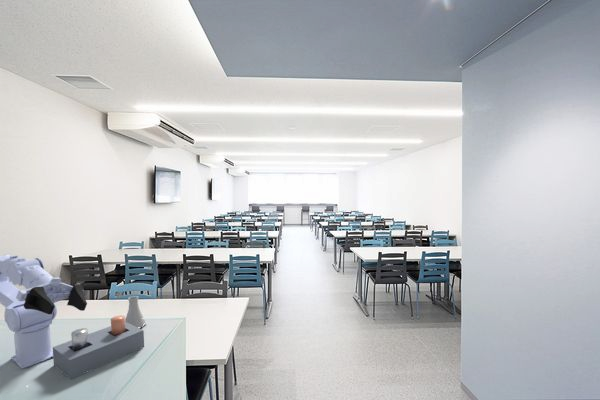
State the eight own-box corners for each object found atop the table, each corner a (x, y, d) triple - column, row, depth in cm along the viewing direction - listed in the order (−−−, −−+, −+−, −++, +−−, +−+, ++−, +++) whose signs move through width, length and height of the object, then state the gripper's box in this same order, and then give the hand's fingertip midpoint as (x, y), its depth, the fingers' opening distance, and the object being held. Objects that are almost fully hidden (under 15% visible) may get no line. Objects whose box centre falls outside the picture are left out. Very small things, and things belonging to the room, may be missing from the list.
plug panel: (53, 365, 88) (52, 347, 88) (125, 336, 104) (124, 321, 103) (71, 379, 82) (69, 359, 82) (144, 346, 97) (143, 330, 97)
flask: (119, 332, 106) (118, 302, 106) (125, 323, 113) (124, 294, 113) (143, 330, 108) (142, 300, 107) (148, 320, 115) (147, 292, 114)
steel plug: (70, 348, 88) (69, 332, 88) (84, 343, 91) (84, 327, 91) (75, 352, 86) (74, 335, 86) (90, 346, 89) (89, 330, 89)
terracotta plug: (109, 333, 96) (108, 318, 96) (121, 329, 99) (120, 314, 99) (115, 337, 94) (114, 321, 94) (127, 332, 97) (127, 317, 97)
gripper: (15, 270, 80) (42, 295, 74) (76, 270, 93) (103, 291, 87) (4, 298, 80) (30, 324, 74) (66, 294, 93) (93, 316, 87)
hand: (68, 308), depth 81 cm, fingers open, 7 cm apart
